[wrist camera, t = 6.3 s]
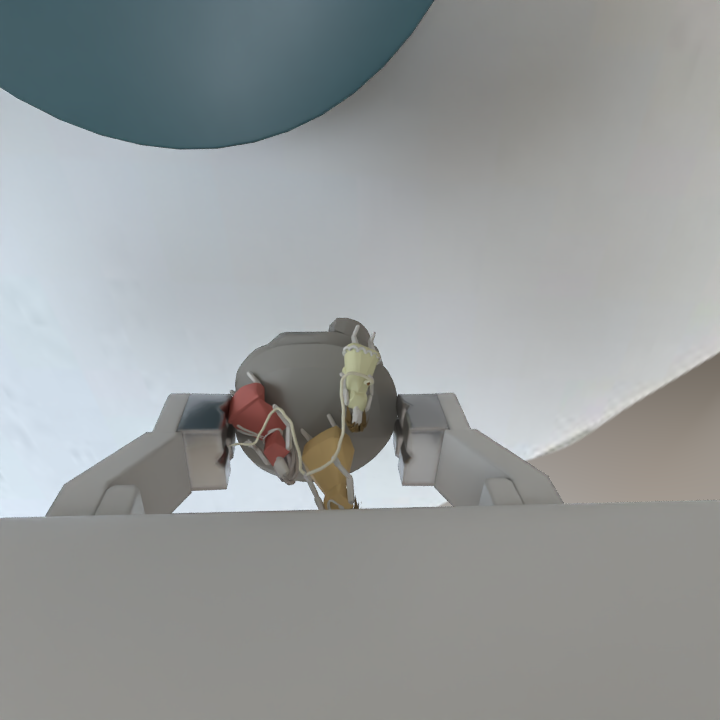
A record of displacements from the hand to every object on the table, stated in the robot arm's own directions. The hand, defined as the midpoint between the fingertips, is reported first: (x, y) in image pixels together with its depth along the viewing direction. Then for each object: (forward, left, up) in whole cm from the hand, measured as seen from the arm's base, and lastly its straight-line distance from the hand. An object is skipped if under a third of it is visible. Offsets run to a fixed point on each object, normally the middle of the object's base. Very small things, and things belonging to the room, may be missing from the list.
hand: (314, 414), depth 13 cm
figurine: (0, 0, -2) cm, 2 cm away
